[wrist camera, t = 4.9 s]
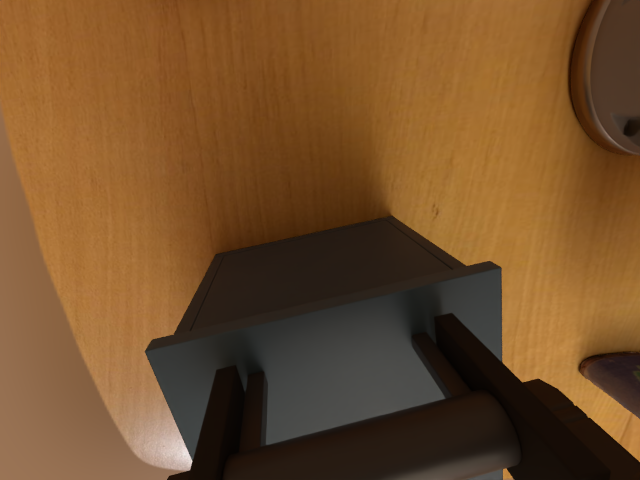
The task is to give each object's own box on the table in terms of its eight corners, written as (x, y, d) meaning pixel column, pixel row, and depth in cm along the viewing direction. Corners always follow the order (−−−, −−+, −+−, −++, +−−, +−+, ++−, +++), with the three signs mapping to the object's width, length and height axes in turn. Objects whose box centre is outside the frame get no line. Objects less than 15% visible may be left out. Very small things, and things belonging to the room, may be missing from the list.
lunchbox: (215, 254, 26) (160, 358, 13) (392, 215, 26) (489, 280, 14) (272, 436, 32) (270, 619, 20) (414, 399, 33) (495, 553, 21)
